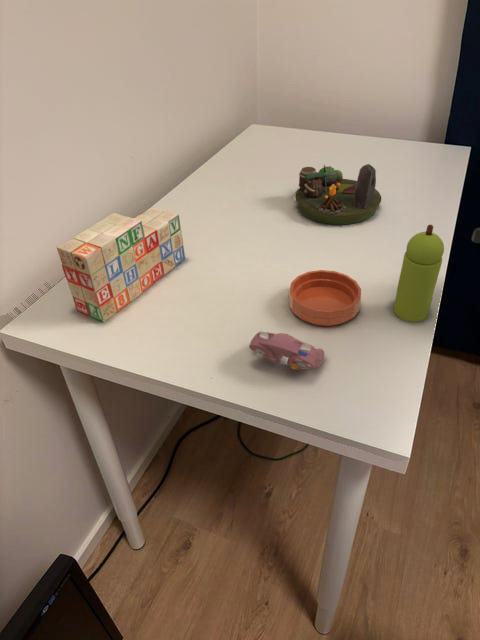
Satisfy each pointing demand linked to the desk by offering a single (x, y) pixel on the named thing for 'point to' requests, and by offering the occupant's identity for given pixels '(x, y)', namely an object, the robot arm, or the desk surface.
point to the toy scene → (337, 195)
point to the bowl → (324, 297)
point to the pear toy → (418, 276)
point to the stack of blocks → (120, 259)
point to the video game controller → (286, 350)
